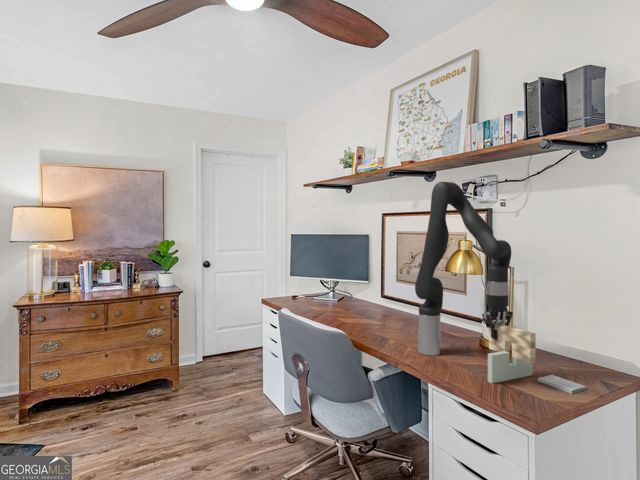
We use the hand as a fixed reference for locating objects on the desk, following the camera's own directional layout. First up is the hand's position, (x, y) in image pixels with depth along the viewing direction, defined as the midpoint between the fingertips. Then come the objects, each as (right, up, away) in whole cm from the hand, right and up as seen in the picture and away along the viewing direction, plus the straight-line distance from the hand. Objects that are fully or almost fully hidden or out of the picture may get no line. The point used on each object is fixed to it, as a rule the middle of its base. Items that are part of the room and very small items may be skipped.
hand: (497, 338), depth 148 cm
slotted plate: (+2, -13, -5) cm, 14 cm away
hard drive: (+17, -14, -11) cm, 25 cm away
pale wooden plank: (+2, -5, -5) cm, 8 cm away
